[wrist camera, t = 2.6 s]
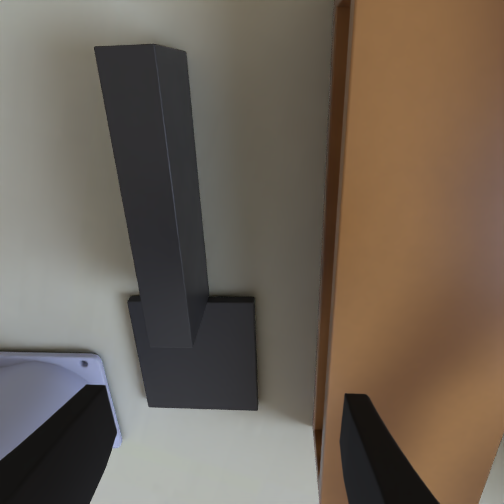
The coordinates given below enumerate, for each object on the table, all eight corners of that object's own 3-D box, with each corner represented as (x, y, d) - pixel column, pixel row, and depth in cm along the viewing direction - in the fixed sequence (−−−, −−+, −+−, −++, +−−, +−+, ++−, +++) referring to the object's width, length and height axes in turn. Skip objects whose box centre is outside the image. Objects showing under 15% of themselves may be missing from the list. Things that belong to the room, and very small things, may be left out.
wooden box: (312, 427, 25) (319, 506, 20) (334, -15, 14) (358, -55, 10) (438, 432, 24) (475, 514, 20) (555, -27, 14) (686, -74, 9)
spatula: (151, 400, 25) (126, 463, 21) (82, 55, 16) (18, 49, 12) (258, 403, 24) (253, 468, 20) (245, 48, 16) (233, 40, 12)
